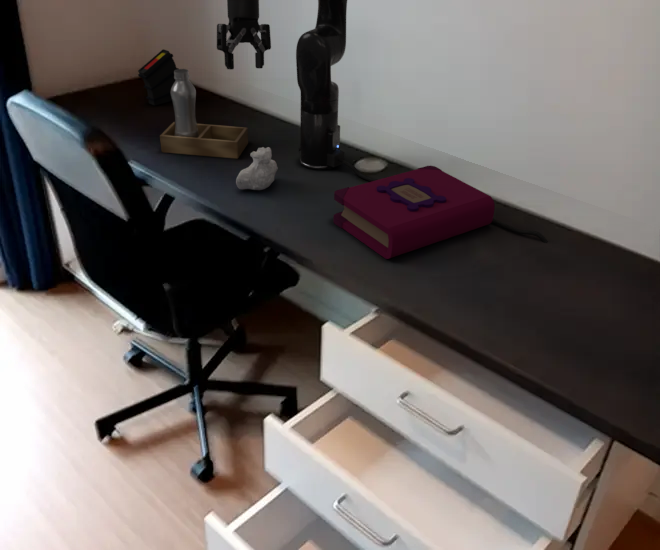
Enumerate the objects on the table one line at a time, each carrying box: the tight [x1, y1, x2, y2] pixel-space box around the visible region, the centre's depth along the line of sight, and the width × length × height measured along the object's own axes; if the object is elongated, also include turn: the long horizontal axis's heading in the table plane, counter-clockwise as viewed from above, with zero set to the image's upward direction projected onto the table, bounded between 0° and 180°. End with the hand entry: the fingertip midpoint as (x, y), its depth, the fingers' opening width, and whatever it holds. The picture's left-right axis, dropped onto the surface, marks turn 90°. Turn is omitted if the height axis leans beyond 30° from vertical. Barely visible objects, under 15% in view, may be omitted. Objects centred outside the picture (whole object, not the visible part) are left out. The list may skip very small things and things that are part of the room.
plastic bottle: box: [170, 68, 199, 138], centre depth 185 cm, size 6×7×20 cm
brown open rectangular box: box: [159, 121, 249, 160], centre depth 188 cm, size 20×11×4 cm, turn 81°
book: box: [333, 165, 496, 260], centre depth 154 cm, size 21×28×8 cm
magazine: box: [137, 49, 180, 106], centre depth 217 cm, size 4×13×15 cm, turn 138°
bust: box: [235, 146, 279, 191], centre depth 167 cm, size 12×8×11 cm
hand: (245, 68), depth 176 cm, fingers open, 8 cm apart
